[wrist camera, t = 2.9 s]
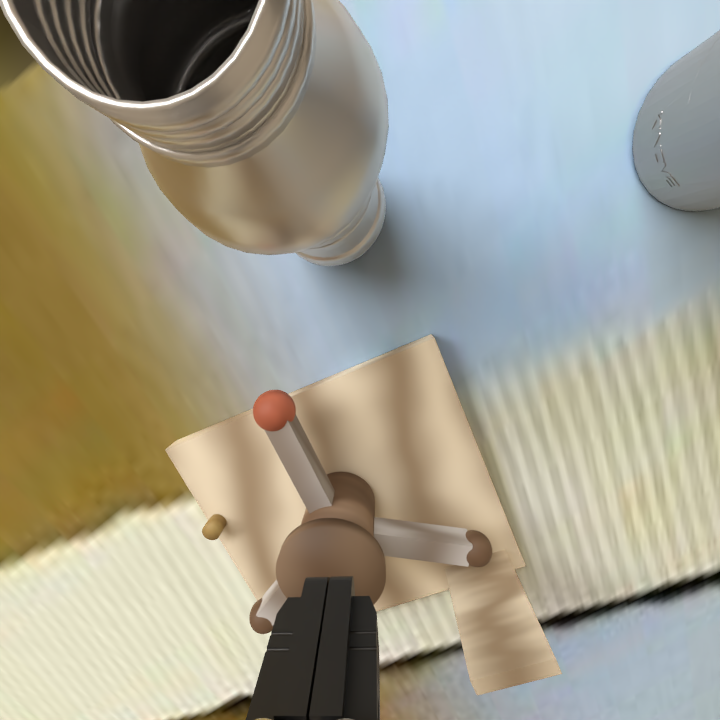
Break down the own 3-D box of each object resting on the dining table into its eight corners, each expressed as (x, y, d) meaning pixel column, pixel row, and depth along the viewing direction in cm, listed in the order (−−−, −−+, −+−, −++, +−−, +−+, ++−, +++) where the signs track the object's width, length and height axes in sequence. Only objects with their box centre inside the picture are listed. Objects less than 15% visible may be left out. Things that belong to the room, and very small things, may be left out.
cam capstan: (399, 326, 23) (408, 346, 17) (482, 523, 26) (516, 605, 20) (171, 423, 26) (100, 474, 19) (271, 592, 29) (240, 685, 22)
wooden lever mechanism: (431, 334, 25) (461, 368, 16) (519, 553, 29) (584, 682, 20) (176, 440, 28) (77, 521, 19) (286, 625, 32) (249, 766, 23)
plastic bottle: (403, 231, 23) (522, 16, 4) (321, 286, 25) (105, 325, 5) (351, 142, 22) (172, -748, 3) (268, 204, 23) (-261, -140, 4)
